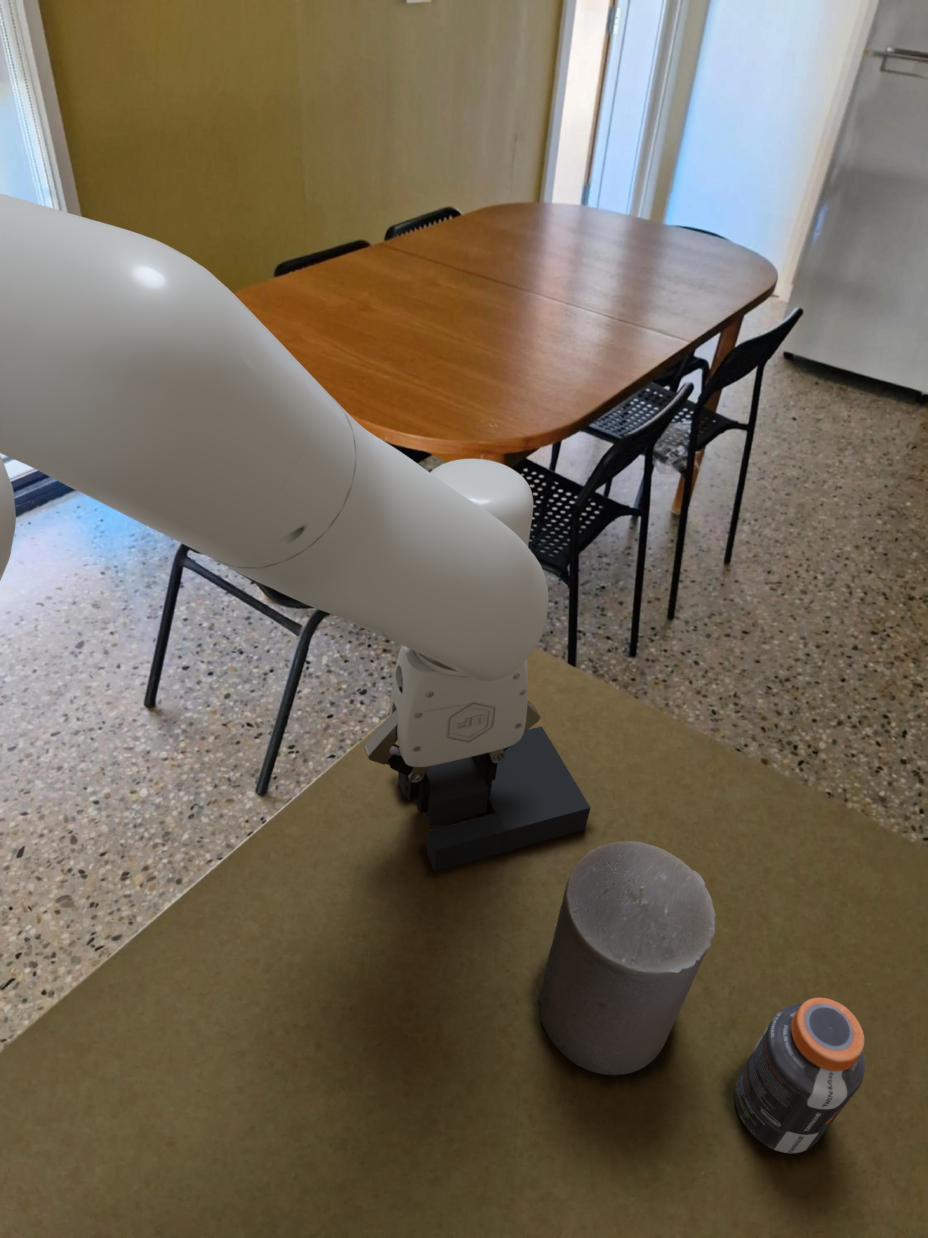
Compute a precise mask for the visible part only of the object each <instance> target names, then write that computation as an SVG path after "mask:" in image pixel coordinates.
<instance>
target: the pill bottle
mask: <svg viewBox="0 0 928 1238" xmlns="http://www.w3.org/2000/svg"><path fill="white" fill-rule="evenodd" d="M865 1039H866V1038H865V1033H864V1030H863V1027H862V1025H861V1023H860V1022H859V1020H858V1019H857V1017H856V1015H854V1013H853V1012H851V1010H850V1009H848V1007H846V1006H845V1005H843V1004H842V1003H839V1002H838V1001H836V1000H834V999H832V998H828V997H812V998H809V999H807V1000H806V1001H804V1002H803V1003H796V1004H791V1005H788V1006H786V1007H784V1008H782V1009H781V1010H779V1011H778V1012H777V1013H776V1014H775V1015H774V1016H773V1017H772V1019H771V1021H770V1022H769V1024H768V1026H767V1027H766V1029H765V1030H764V1032H763V1033H762V1034H761V1036H760V1038H759V1040H758V1042H757V1043H756V1045H755V1047H754V1049H753V1050H752V1052H751V1054H750V1056H749V1058H748V1059H747V1061H746V1063H745V1064H744V1066H743V1068H742V1070H741V1071H740V1073H739V1075H738V1077H737V1079H736V1082H735V1085H734V1103H735V1107H736V1111H737V1114H738V1116H739V1118H740V1120H741V1122H742V1124H743V1125H744V1127H745V1128H746V1129H747V1131H748V1132H749V1133H750V1134H751V1135H752V1136H753V1137H754V1138H755V1139H756V1140H757V1141H758V1142H760V1143H761V1144H763V1145H764V1146H765V1147H767V1148H769V1149H771V1150H774V1151H776V1152H780V1153H784V1154H798V1153H799V1154H800V1153H802V1152H805V1151H808V1150H809V1149H811V1148H812V1147H813V1146H815V1145H816V1143H817V1142H818V1141H819V1139H820V1138H821V1137H822V1136H823V1135H824V1133H825V1132H826V1131H827V1129H828V1128H829V1127H830V1125H832V1123H833V1122H834V1121H835V1119H837V1117H838V1115H839V1114H840V1113H841V1111H842V1110H843V1109H844V1107H846V1105H847V1104H848V1103H849V1102H850V1100H851V1099H852V1098H853V1096H854V1095H855V1093H857V1091H858V1090H859V1088H860V1087H861V1085H862V1083H863V1080H864V1077H865V1073H866V1072H865V1070H866V1062H865V1056H864V1052H863V1051H864V1047H865Z"/></svg>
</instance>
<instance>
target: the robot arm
mask: <svg viewBox="0 0 928 1238" xmlns="http://www.w3.org/2000/svg"><path fill="white" fill-rule="evenodd" d="M1 455H4V456H5V457H8V458H10V459H12V460H15V461H17V462H20V464H23V465H26V466H29V467H30V468H31V469H35V470H36V471H38V472H40V473H42V474H44V475H45V476H48V477H50V478H52V479H54V480H55V481H58V482H59V483H62V485H65V486H67V487H69V488H71V489H73V490H75V491H77V492H79V493H81V494H83V495H85V496H86V497H89V498H91V499H93V500H95V501H97V502H99V503H101V504H103V505H105V506H106V507H109V508H110V509H112V510H114V511H117V512H118V513H120V514H123V515H124V516H127V517H128V518H130V519H132V520H135V521H136V522H138V523H141V524H142V525H144V526H146V527H149V528H150V529H152V530H154V531H156V532H158V533H161V534H163V535H164V536H166V537H169V538H171V539H172V540H175V542H178V543H181V544H182V545H184V546H186V547H189V548H190V549H192V550H194V551H196V552H198V553H200V554H201V555H204V556H205V557H208V558H210V559H211V560H214V561H216V562H217V563H220V564H221V565H224V566H225V567H227V568H229V569H231V570H233V571H235V572H237V573H238V574H240V575H242V576H244V577H246V578H248V579H251V580H253V581H255V582H256V583H259V584H261V585H264V586H266V587H268V588H270V589H272V590H275V591H277V592H278V593H280V594H283V595H285V596H287V597H289V598H291V599H293V600H296V601H298V602H300V603H302V604H304V605H306V606H308V607H309V606H310V607H312V608H314V609H317V610H318V611H322V612H325V613H328V614H330V615H333V616H336V617H339V618H341V619H343V620H344V621H347V622H349V623H351V624H354V625H355V626H358V627H360V628H361V629H364V630H367V631H368V632H371V633H373V634H376V635H378V636H380V637H382V638H384V639H386V640H388V641H391V642H394V643H395V644H396V645H400V650H399V653H398V656H397V659H396V664H395V668H394V673H393V679H392V685H391V692H390V700H389V712H388V713H389V714H388V717H387V719H385V721H384V722H383V723H382V724H381V725H380V726H379V727H378V729H377V730H376V731H375V732H374V733H373V734H372V735H371V736H370V737H369V738H368V739H367V741H366V742H365V743H364V745H363V748H364V750H365V752H366V755H367V758H368V760H370V761H372V762H374V763H378V764H380V765H384V766H385V765H387V766H389V767H390V769H391V770H393V771H396V772H400V773H402V774H404V790H405V794H406V796H407V798H406V799H407V801H408V802H411V801H413V802H414V804H415V806H416V809H417V811H418V813H419V814H425V813H424V812H426V810H427V800H428V795H429V790H430V780H429V778H428V776H427V773H426V771H427V769H428V766H432V765H437V764H442V763H446V762H451V761H455V760H459V759H464V758H468V757H472V758H473V760H474V762H475V764H476V766H477V768H478V770H479V772H480V774H481V776H482V778H483V780H484V781H485V783H486V785H487V787H488V789H489V793H488V796H490V794H491V786H492V780H495V778H496V771H497V763H499V762H501V761H502V760H503V759H504V758H505V753H504V751H506V750H507V749H508V748H509V747H510V746H511V745H513V744H515V743H517V742H518V741H519V740H520V739H521V737H522V736H523V733H524V732H525V731H526V730H528V729H531V728H532V727H533V726H535V725H536V724H537V723H538V722H539V721H540V720H541V715H540V713H539V712H538V710H537V708H536V707H535V705H534V704H533V703H532V702H531V701H530V700H529V698H528V697H529V676H528V675H529V673H528V671H529V670H528V659H529V658H530V656H531V655H532V653H533V652H534V651H535V649H536V648H537V646H538V644H539V642H540V640H541V638H542V635H543V632H544V630H545V626H546V623H547V620H548V619H547V618H548V611H549V588H548V582H547V578H546V575H545V572H544V569H543V567H542V565H541V563H540V562H539V560H538V559H537V557H536V555H535V554H534V553H533V552H532V550H531V548H529V542H530V535H531V528H532V521H533V514H534V497H533V493H532V490H531V489H532V488H531V487H530V484H529V483H528V482H527V480H526V479H525V478H524V477H523V476H522V474H520V473H519V472H518V471H516V470H515V469H513V468H511V467H509V466H508V465H505V464H504V463H500V462H498V461H494V460H490V459H483V458H461V459H455V460H450V461H448V462H445V463H443V464H440V465H438V466H435V468H433V469H432V470H430V472H429V470H426V469H425V468H424V467H423V466H422V465H420V464H419V463H417V462H416V461H414V460H413V459H412V458H410V457H409V456H408V455H406V454H404V453H403V452H402V451H400V450H399V449H397V448H396V447H394V446H392V445H391V444H389V443H388V442H386V441H384V440H383V439H381V438H379V437H378V436H377V435H374V434H373V433H372V432H370V431H368V430H367V429H366V428H365V427H363V426H362V425H361V424H360V423H359V422H358V421H357V420H355V419H354V417H352V415H350V414H349V412H347V411H346V409H344V408H343V406H342V405H341V404H340V403H339V402H338V401H337V400H336V399H335V398H334V397H333V396H332V395H330V393H329V392H328V391H327V390H326V389H325V388H324V387H323V386H322V385H321V384H320V382H318V381H317V379H316V378H314V377H313V375H311V374H310V372H309V371H308V370H307V369H306V367H304V366H303V365H302V364H301V363H300V361H298V360H297V359H296V358H295V357H294V356H293V354H292V353H291V352H290V351H289V350H288V349H287V348H286V346H284V344H283V343H281V341H279V339H278V338H277V337H276V336H275V335H274V334H273V332H271V331H270V329H268V328H267V327H266V326H265V325H264V323H262V322H261V320H260V319H259V318H258V317H257V316H256V315H255V314H254V313H253V312H252V311H251V310H250V309H249V308H248V307H247V306H246V305H245V303H243V302H242V301H241V299H240V298H238V297H237V296H236V295H235V293H234V292H232V291H231V290H230V289H229V287H227V286H226V285H225V284H224V283H222V281H220V279H218V278H217V277H216V276H215V275H214V274H213V273H211V271H209V270H208V269H207V268H205V267H204V266H203V265H201V264H199V262H197V261H195V260H193V259H192V258H191V257H189V256H188V255H185V254H184V253H182V252H181V251H178V250H177V249H175V248H173V247H171V246H169V245H167V244H166V243H163V242H162V241H159V240H157V239H154V238H151V237H149V236H146V235H143V234H141V233H138V232H135V231H132V230H128V229H125V228H122V227H119V226H115V225H112V224H108V223H105V222H102V221H98V220H94V219H91V218H88V217H84V216H81V215H77V214H74V213H71V212H70V213H69V212H67V211H63V210H60V209H56V208H53V207H50V206H45V205H42V204H39V203H36V202H32V201H29V200H26V199H22V198H19V197H16V196H12V195H8V194H4V193H0V581H1V580H2V578H3V576H4V573H5V572H6V568H7V566H8V564H9V561H10V558H11V555H12V550H13V543H14V537H15V532H16V526H17V525H16V524H17V515H16V503H15V501H16V500H15V492H14V488H13V487H14V486H13V485H12V482H11V479H10V477H9V473H8V471H7V468H6V465H5V462H4V459H3V458H2V456H1ZM396 743H397V744H396Z"/></svg>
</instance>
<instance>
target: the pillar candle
mask: <svg viewBox="0 0 928 1238" xmlns="http://www.w3.org/2000/svg"><path fill="white" fill-rule="evenodd" d="M557 917H558V918H557V922H556V926H555V930H554V934H553V938H552V941H551V946H550V948H549V949H550V950H549V954H548V959H547V962H546V967H545V969H544V974H543V978H542V981H541V982H540V986H539V990H538V995H537V1000H538V1003H539V1010H540V1022H541V1024H542V1025H543V1028H544V1030H545V1033H546V1034H547V1035H548V1038H549V1039H550V1041H551V1043H552V1044H553V1045H554V1046H555V1047H556V1049H557V1050H558V1051H559V1052H560V1053H561V1054H562V1055H563V1056H564V1057H565V1058H566V1059H568V1060H569V1061H571V1062H572V1063H573V1064H575V1065H576V1066H578V1067H580V1068H582V1069H584V1070H586V1071H589V1072H592V1073H595V1074H598V1075H599V1074H600V1075H606V1076H622V1075H627V1074H632V1073H635V1072H637V1071H639V1070H641V1069H644V1068H645V1067H646V1066H648V1065H650V1064H651V1063H652V1062H653V1061H654V1060H656V1058H657V1057H658V1055H659V1054H660V1053H661V1051H662V1049H663V1048H664V1046H665V1044H666V1042H667V1040H668V1037H669V1035H670V1032H671V1031H672V1029H673V1026H674V1025H675V1023H676V1020H677V1018H678V1016H679V1014H680V1012H681V1010H682V1007H683V1004H684V1003H685V1001H686V998H687V996H688V994H689V992H690V989H691V987H692V984H693V982H694V980H695V978H696V975H697V973H698V971H699V969H700V967H701V965H702V963H703V961H704V958H705V955H706V954H707V952H708V950H709V949H710V947H711V946H712V943H711V942H712V940H713V938H714V937H715V934H716V917H717V914H716V912H715V908H714V905H713V899H712V896H711V895H710V893H709V891H708V889H707V887H706V882H705V881H704V879H703V877H702V876H701V875H700V874H699V873H698V872H697V871H696V870H692V869H691V867H690V866H688V864H686V863H684V861H683V860H682V859H680V858H678V857H677V856H675V854H672V853H670V852H668V851H667V850H665V849H663V848H661V847H658V846H655V845H652V844H648V843H646V842H642V841H636V840H631V841H630V840H620V841H615V842H609V843H606V844H603V845H600V846H597V847H595V848H594V849H591V850H589V851H587V853H586V854H585V855H583V856H582V857H581V858H580V859H579V860H578V862H577V863H575V865H574V867H573V869H572V870H571V872H570V874H569V877H568V879H567V881H566V885H565V889H564V893H563V897H562V901H561V905H560V908H559V914H558V916H557Z"/></svg>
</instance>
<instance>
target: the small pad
mask: <svg viewBox="0 0 928 1238" xmlns="http://www.w3.org/2000/svg"><path fill="white" fill-rule="evenodd" d="M426 773H427V776H428V778H429V780H430V790H429V795H428V800H427V810H426V812H424V813H423V814H424V815H425V818H426V820H427V822H428V825H429V827H430V828H432V827H437V826H440V825H443V824H447V823H451V822H455V821H458V820H462V819H466V818H470V817H474V816H478V815H483V814H482V813H486V808H487V801H488V793H489V789H488V787H487V785H486V783H485V781H484V780H483V778H482V776H481V774H480V772H479V770H478V768H477V766H476V764H475V762H474V760H473V758H472V757H468V758H464V759H459V760H455V761H451V762H446V763H442V764H437V765H432V766H428V769H427V771H426Z"/></svg>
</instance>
